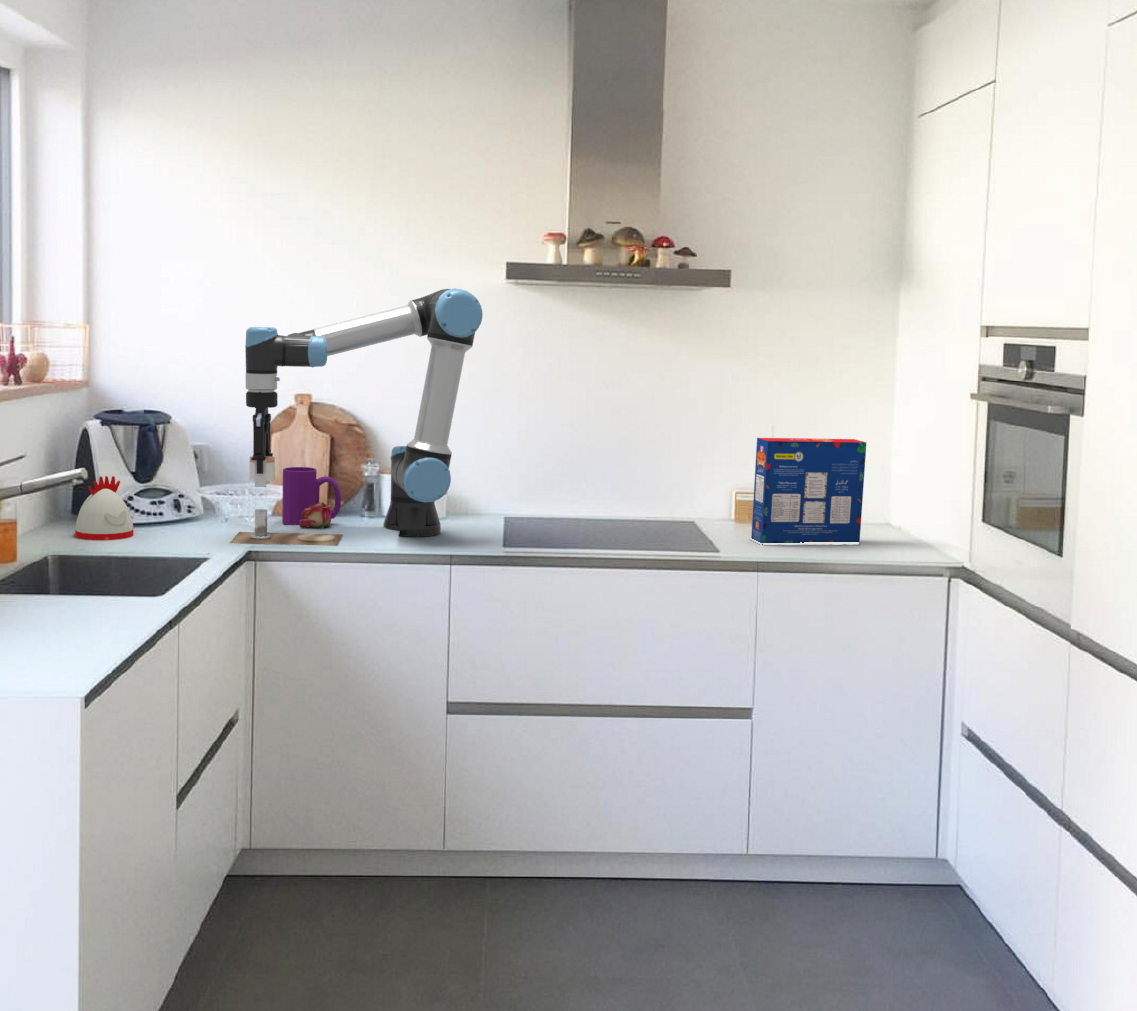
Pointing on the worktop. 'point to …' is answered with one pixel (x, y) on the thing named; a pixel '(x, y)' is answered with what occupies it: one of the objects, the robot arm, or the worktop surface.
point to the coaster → (316, 537)
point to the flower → (317, 516)
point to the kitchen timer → (104, 514)
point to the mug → (304, 493)
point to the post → (261, 525)
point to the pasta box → (808, 490)
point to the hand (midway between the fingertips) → (262, 484)
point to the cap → (269, 468)
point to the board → (282, 539)
